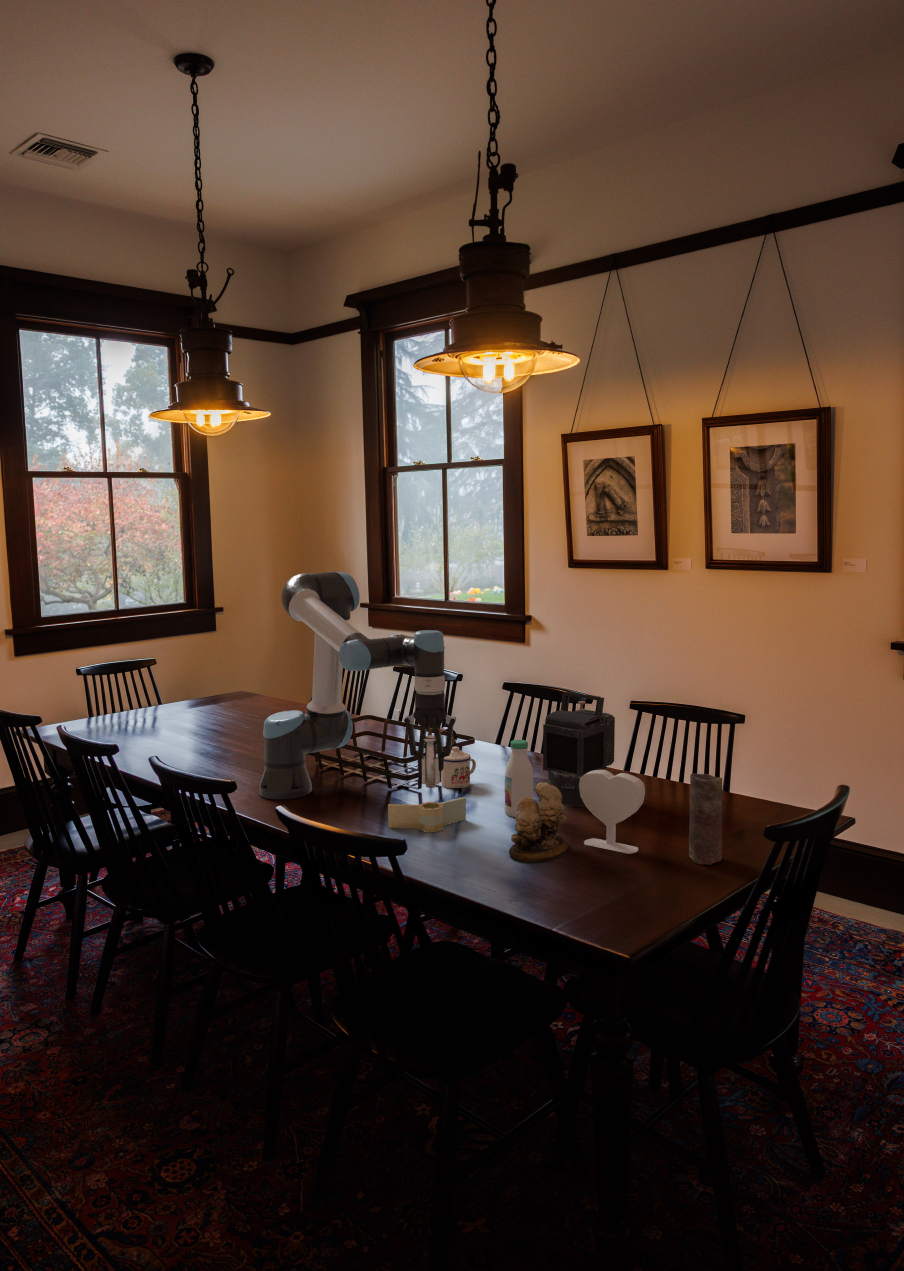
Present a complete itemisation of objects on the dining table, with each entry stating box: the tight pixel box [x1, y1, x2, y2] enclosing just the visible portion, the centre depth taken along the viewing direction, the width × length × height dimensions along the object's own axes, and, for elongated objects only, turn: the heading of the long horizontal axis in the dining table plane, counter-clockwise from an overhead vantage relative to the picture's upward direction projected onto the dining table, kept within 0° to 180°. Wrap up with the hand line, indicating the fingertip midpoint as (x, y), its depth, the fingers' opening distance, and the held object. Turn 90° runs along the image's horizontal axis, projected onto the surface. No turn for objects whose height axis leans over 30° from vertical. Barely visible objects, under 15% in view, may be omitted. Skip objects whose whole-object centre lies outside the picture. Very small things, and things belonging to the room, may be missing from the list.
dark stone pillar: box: [688, 773, 723, 866], centre depth 199 cm, size 8×7×20 cm
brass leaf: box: [387, 801, 445, 833], centre depth 223 cm, size 14×6×6 cm, turn 83°
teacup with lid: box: [440, 746, 477, 789], centre depth 261 cm, size 12×9×12 cm
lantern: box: [542, 691, 616, 807], centre depth 245 cm, size 15×18×30 cm
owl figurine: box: [508, 781, 569, 864], centre depth 205 cm, size 18×12×17 cm, turn 139°
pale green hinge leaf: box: [418, 796, 467, 826], centre depth 224 cm, size 14×6×6 cm, turn 128°
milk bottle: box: [504, 739, 535, 818], centre depth 232 cm, size 8×8×20 cm
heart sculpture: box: [579, 769, 646, 855], centre depth 208 cm, size 16×5×18 cm, turn 57°
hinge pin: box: [423, 734, 438, 789], centre depth 220 cm, size 4×4×13 cm
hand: (431, 782), depth 221 cm, fingers closed on hinge pin, 3 cm apart
